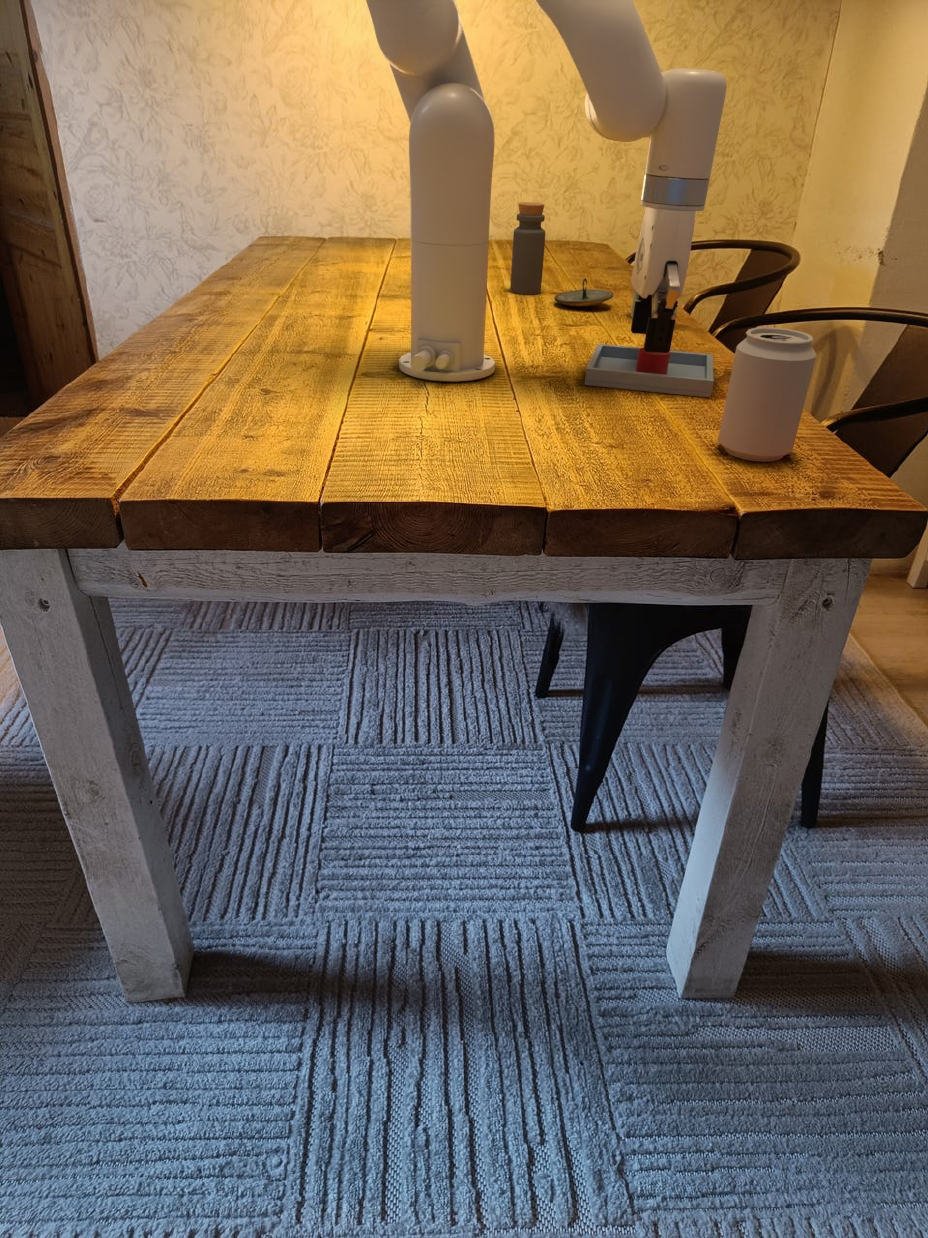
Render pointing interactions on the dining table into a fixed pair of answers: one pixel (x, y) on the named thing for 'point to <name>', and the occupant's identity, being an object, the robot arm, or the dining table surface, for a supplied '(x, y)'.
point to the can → (766, 393)
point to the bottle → (528, 250)
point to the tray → (682, 376)
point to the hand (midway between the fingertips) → (649, 342)
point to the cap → (652, 362)
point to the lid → (583, 297)
